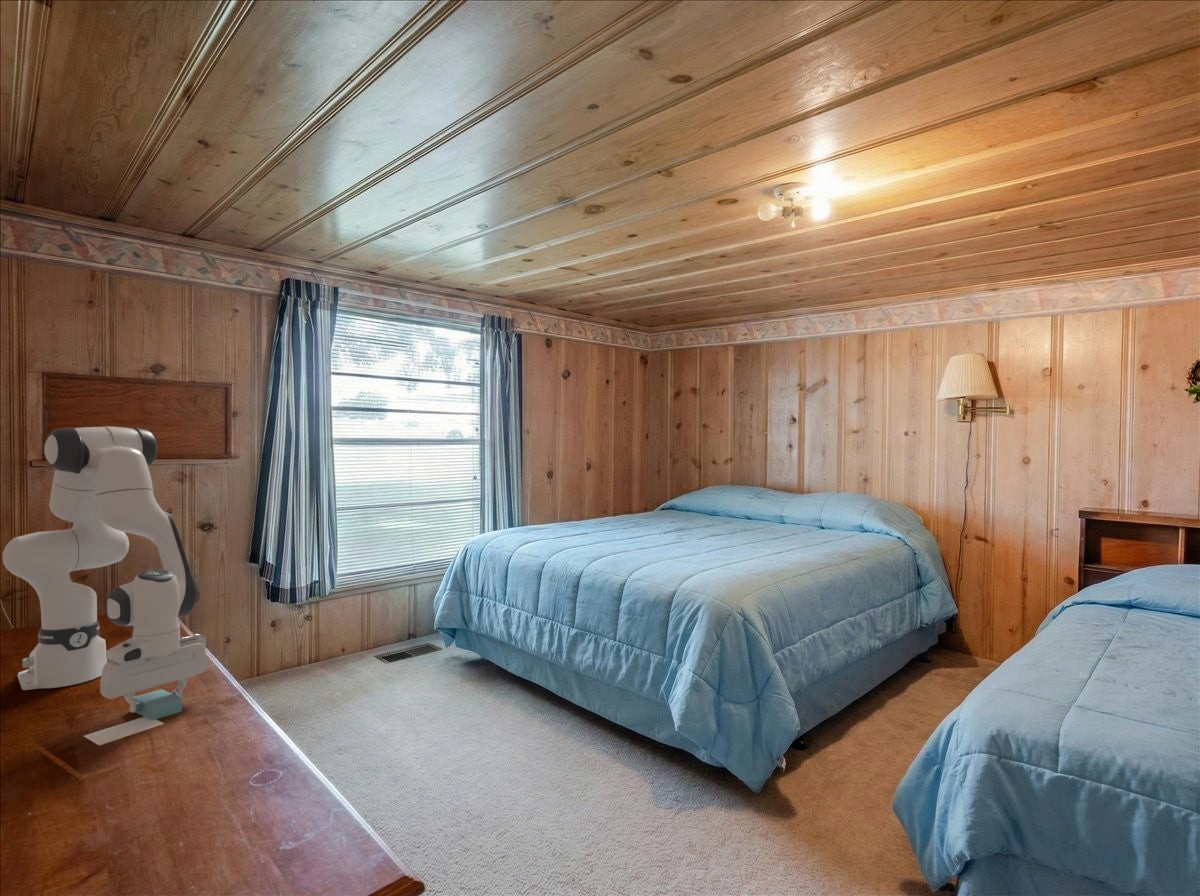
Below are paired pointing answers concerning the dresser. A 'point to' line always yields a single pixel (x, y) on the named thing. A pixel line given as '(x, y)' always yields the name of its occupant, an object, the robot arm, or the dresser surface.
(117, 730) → the mat
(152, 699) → the teal rectangular block
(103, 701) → the dresser surface
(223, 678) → the dresser surface
